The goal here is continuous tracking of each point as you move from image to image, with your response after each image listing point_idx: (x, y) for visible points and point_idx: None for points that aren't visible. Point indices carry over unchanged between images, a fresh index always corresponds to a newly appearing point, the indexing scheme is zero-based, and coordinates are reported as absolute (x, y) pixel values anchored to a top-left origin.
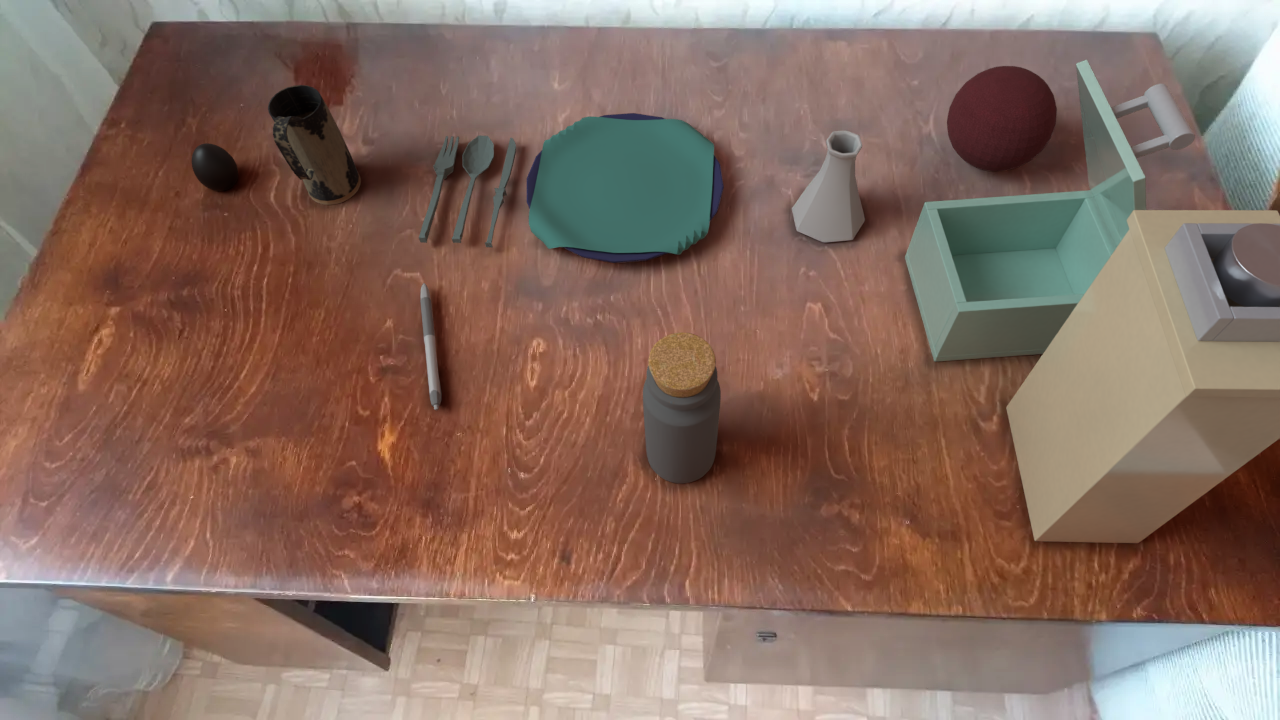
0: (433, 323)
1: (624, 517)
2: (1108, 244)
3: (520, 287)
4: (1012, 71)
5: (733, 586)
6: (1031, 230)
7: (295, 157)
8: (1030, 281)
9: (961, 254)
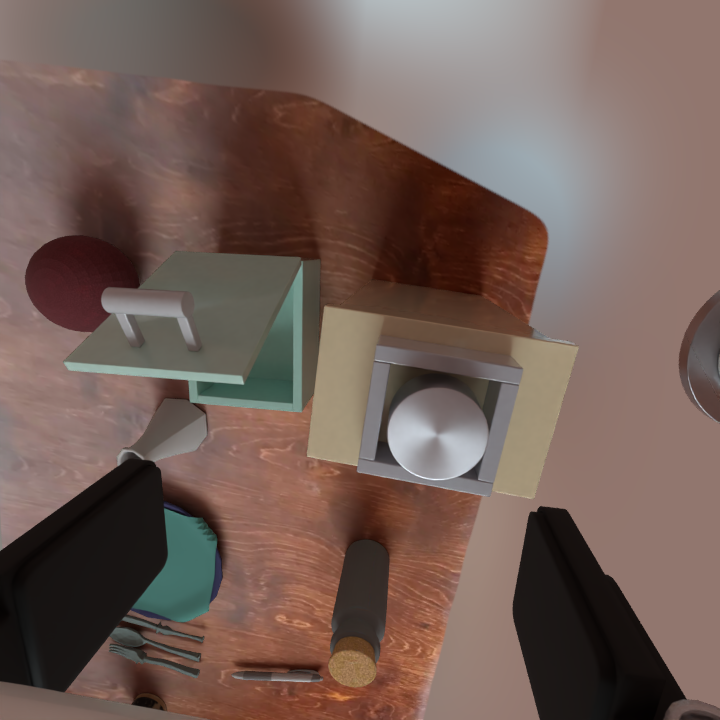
0: (262, 673)
1: (405, 594)
2: None
3: (235, 621)
4: (35, 289)
5: (459, 548)
6: None
7: None
8: None
9: None
